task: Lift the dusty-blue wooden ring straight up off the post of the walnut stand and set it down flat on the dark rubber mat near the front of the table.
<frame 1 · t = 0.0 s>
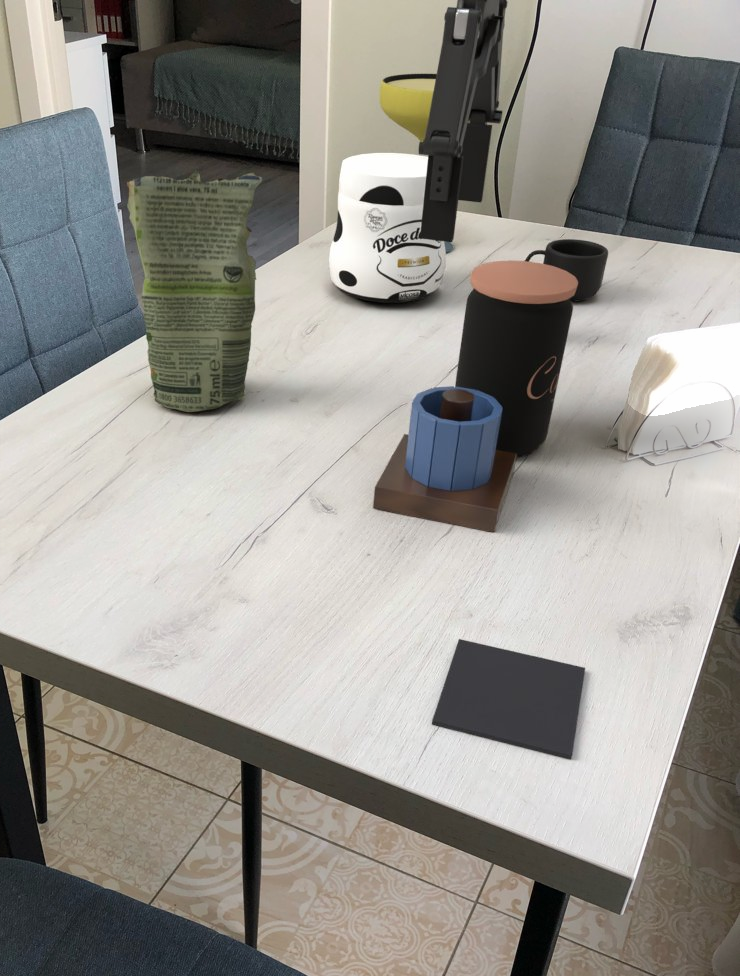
hand: (452, 219, 84), 25 cm above the table, tool pointing down, fingers open, 13 cm apart
stand: (445, 491, 95), on the table
coffee jar: (496, 440, 105), on the table
cocktail glass: (421, 247, 162), on the table
mug: (557, 296, 143), on the table
pouch: (201, 397, 112), on the table
doce de leite jar: (384, 293, 143), on the table
mat: (510, 696, 71), on the table
ring: (448, 469, 94), point 2 cm above the table, touching stand
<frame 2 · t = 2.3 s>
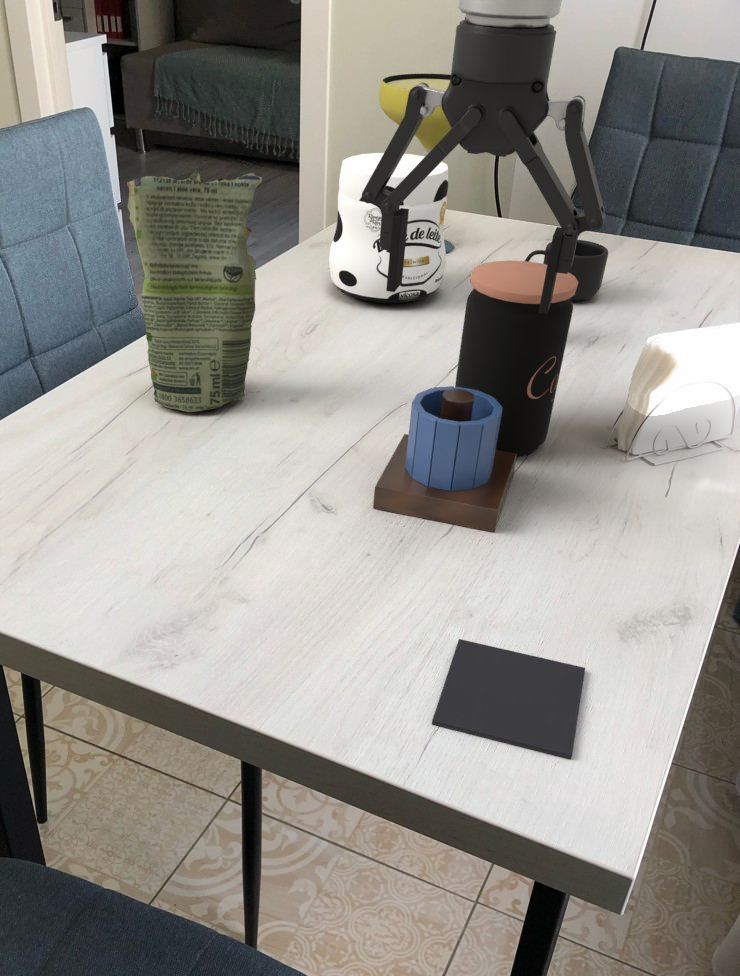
hand: (467, 298, 84), 20 cm above the table, tool pointing down, fingers open, 13 cm apart
nothing on the table moved.
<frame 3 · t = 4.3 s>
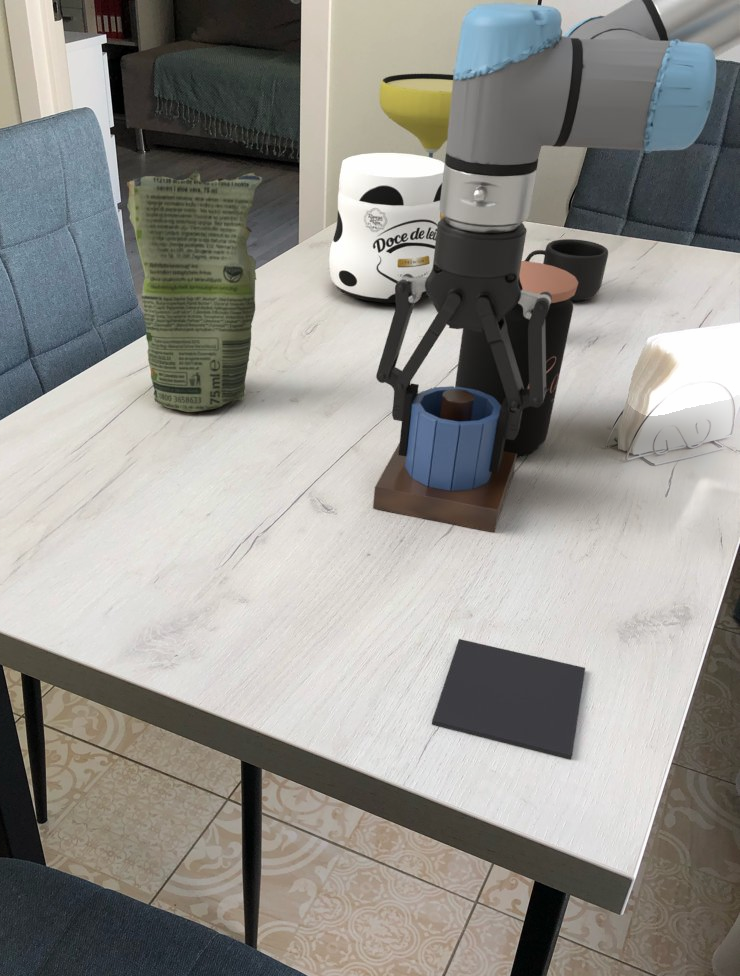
hand: (449, 457, 93), 4 cm above the table, tool pointing down, fingers closed on ring, 8 cm apart
ring: (448, 469, 94), point 3 cm above the table, touching gripper, stand
everything else where it was.
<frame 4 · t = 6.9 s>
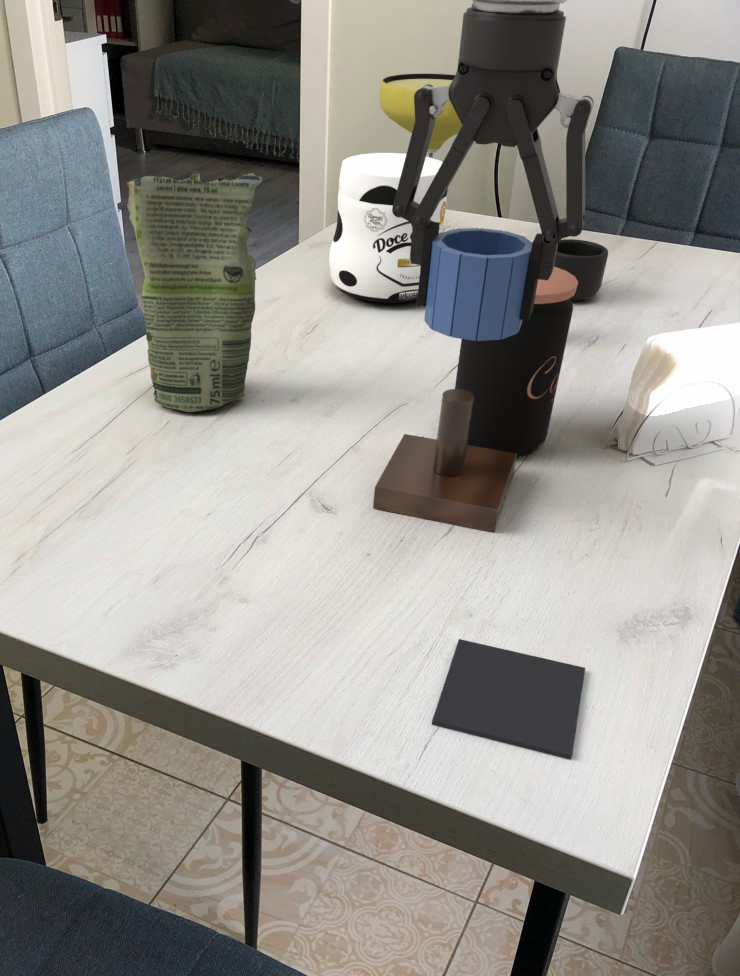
hand: (474, 307, 83), 19 cm above the table, tool pointing down, fingers closed on ring, 8 cm apart
ring: (472, 322, 84), point 18 cm above the table, touching gripper
everything else where it was.
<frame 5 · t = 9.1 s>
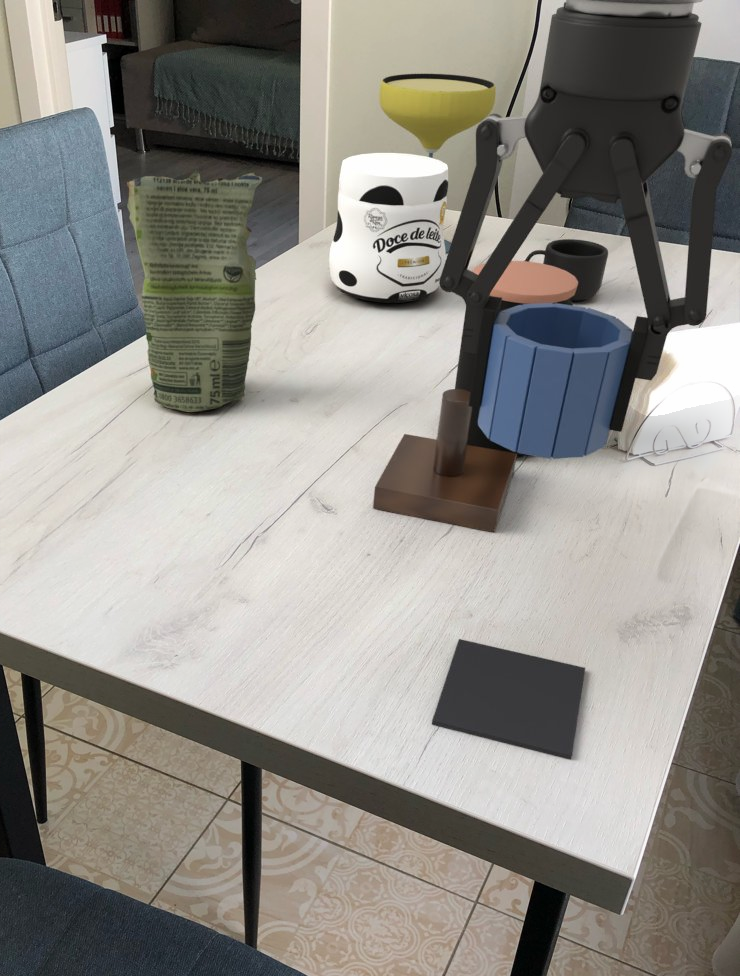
hand: (546, 410, 62), 21 cm above the table, tool pointing down, fingers closed on ring, 8 cm apart
ring: (542, 428, 63), point 20 cm above the table, touching gripper
everything else where it was.
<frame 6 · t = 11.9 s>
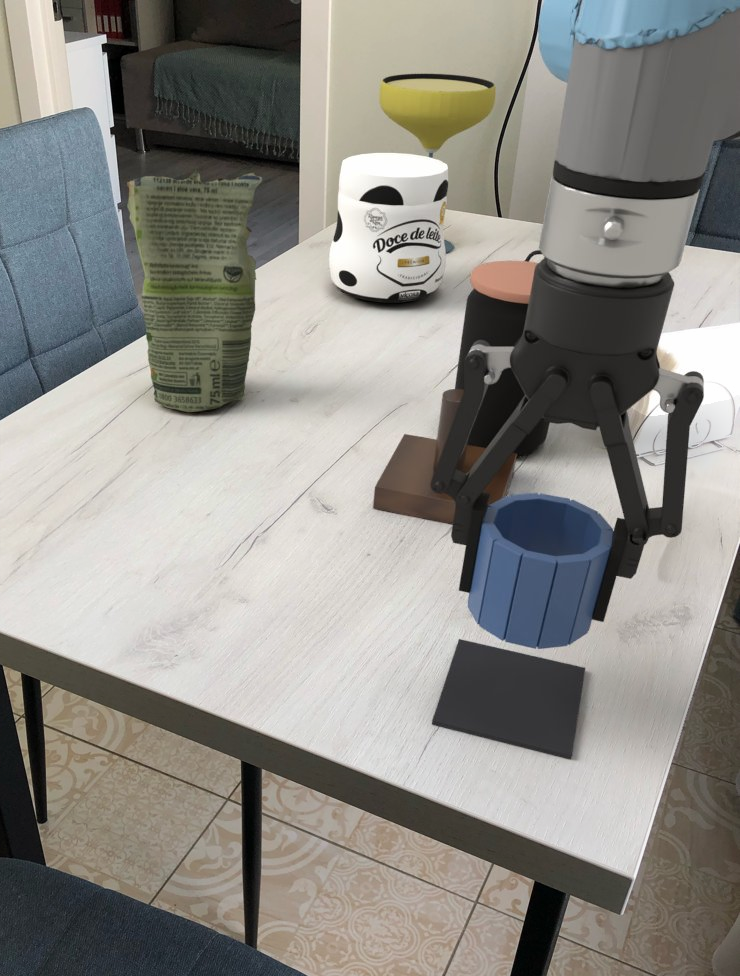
hand: (532, 594, 65), 10 cm above the table, tool pointing down, fingers closed on ring, 8 cm apart
ring: (528, 610, 66), point 8 cm above the table, touching gripper
everything else where it was.
when the fingers open (2 cm above the table, at t = 14.2 s): ring stays where it is, resting on mat.
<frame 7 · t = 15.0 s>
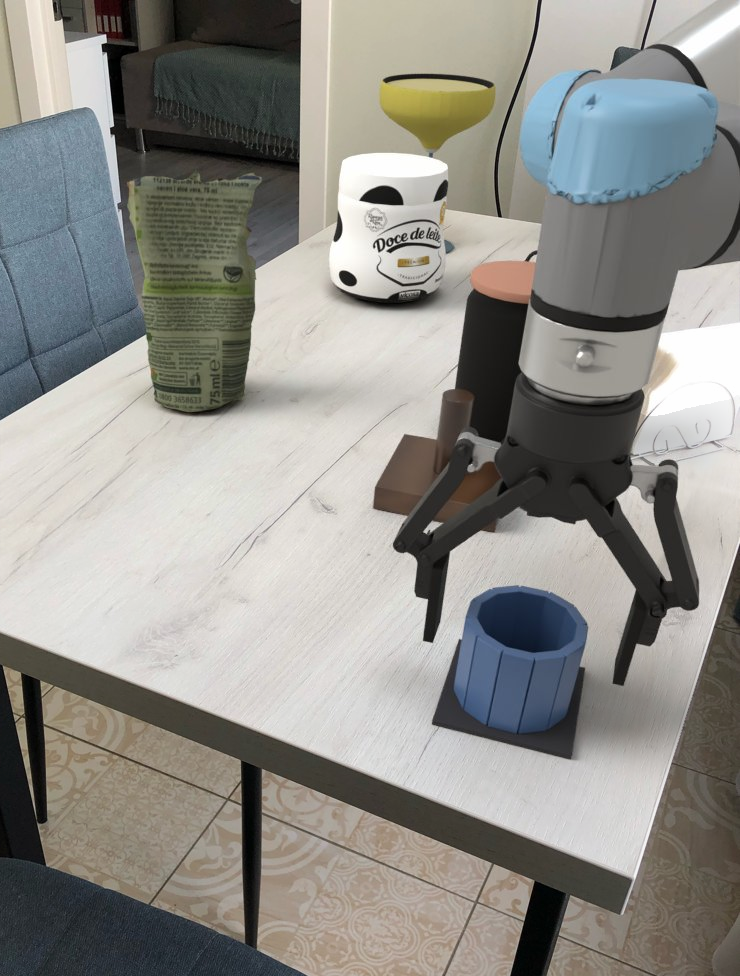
hand: (522, 652, 69), 4 cm above the table, tool pointing down, fingers open, 13 cm apart
ring: (510, 693, 71), resting on mat
everything else where it was.
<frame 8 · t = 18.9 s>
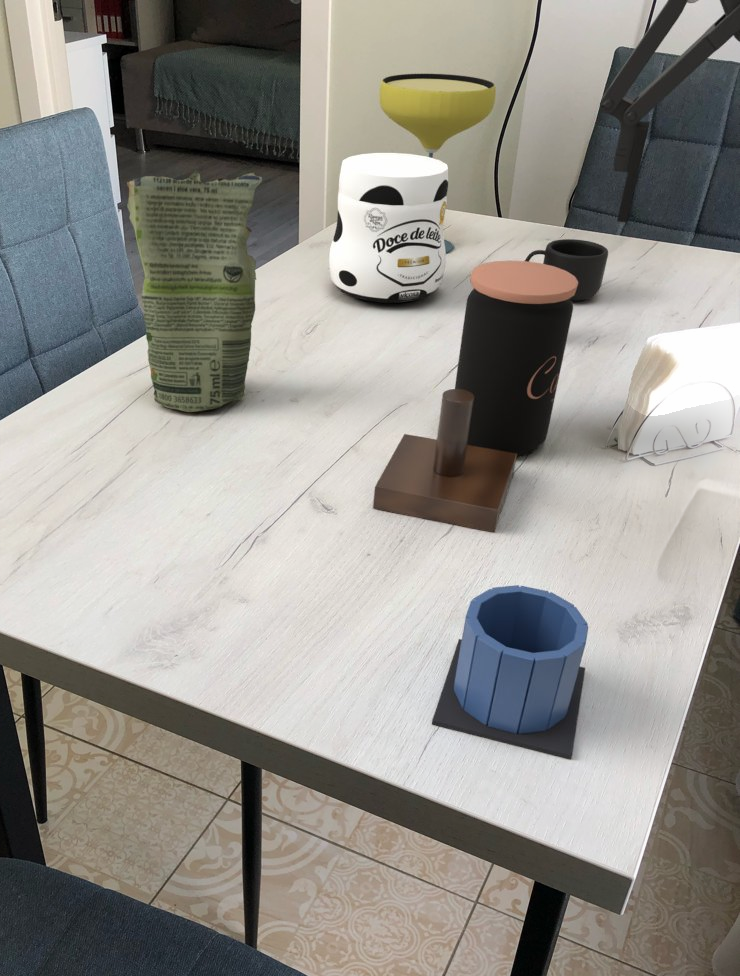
hand: (715, 228, 71), 29 cm above the table, tool pointing down, fingers open, 13 cm apart
nothing on the table moved.
at the end: ring inside the target area on the mat (0.1 cm from its centre), point 0.4 cm above the mat's base; ring touching mat; ring tilted 0° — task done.
